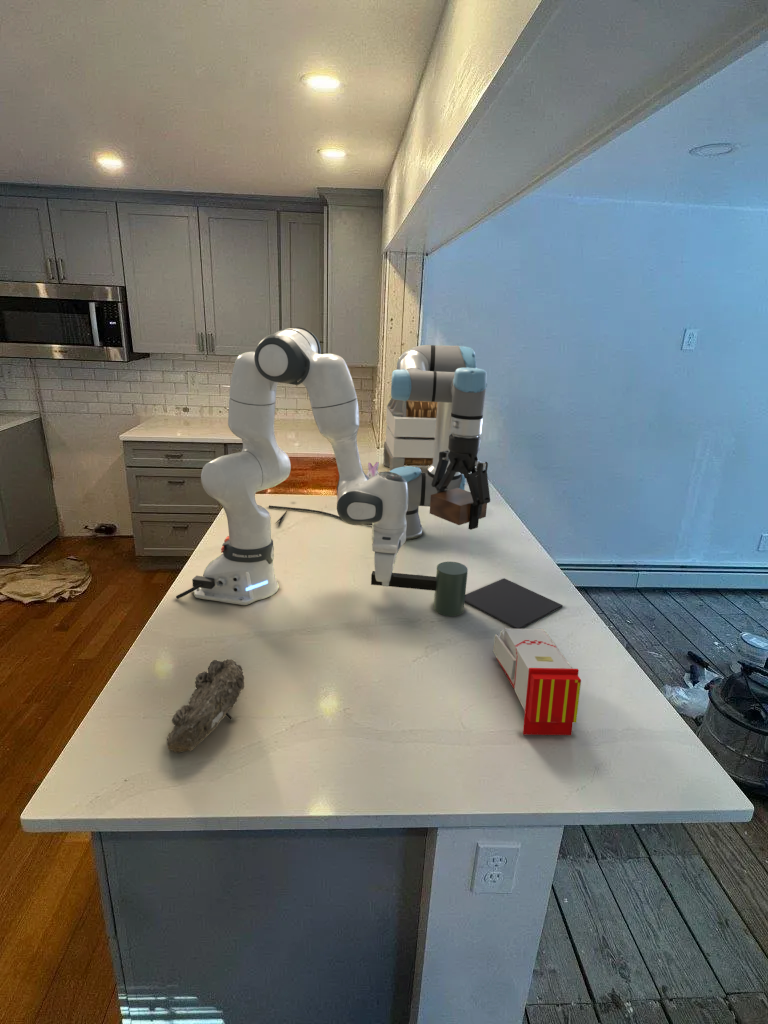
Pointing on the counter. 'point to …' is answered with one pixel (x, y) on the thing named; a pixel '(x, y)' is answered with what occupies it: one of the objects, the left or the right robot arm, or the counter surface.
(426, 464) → the white wooden crate
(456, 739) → the counter surface
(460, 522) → the brown square block
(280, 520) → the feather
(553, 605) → the coaster
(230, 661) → the fossil
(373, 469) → the figurine
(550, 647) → the toy
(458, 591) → the green mallet
